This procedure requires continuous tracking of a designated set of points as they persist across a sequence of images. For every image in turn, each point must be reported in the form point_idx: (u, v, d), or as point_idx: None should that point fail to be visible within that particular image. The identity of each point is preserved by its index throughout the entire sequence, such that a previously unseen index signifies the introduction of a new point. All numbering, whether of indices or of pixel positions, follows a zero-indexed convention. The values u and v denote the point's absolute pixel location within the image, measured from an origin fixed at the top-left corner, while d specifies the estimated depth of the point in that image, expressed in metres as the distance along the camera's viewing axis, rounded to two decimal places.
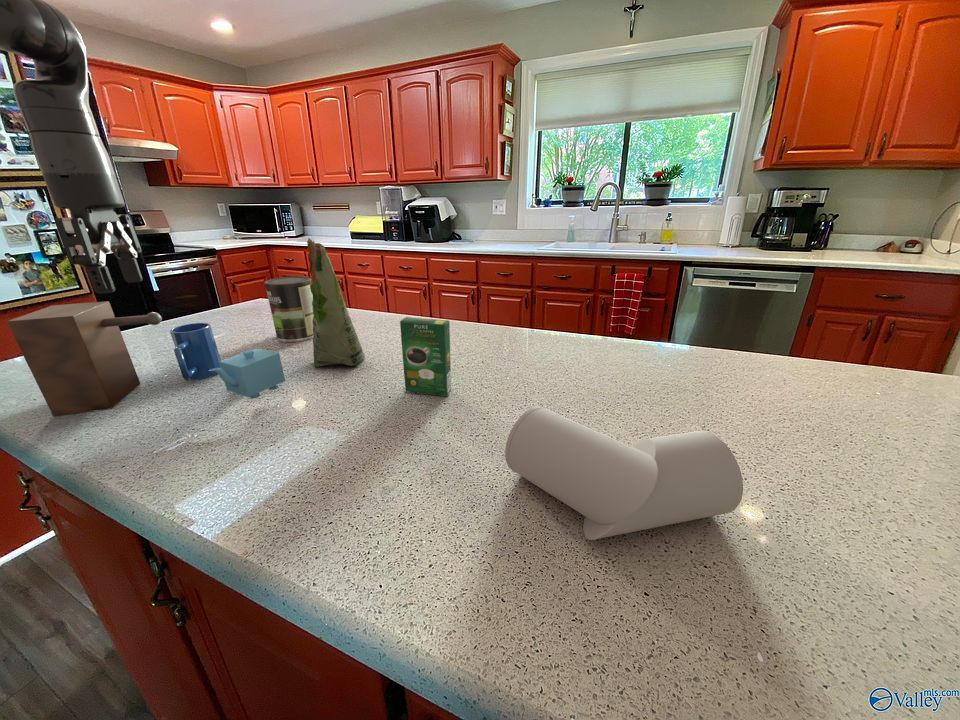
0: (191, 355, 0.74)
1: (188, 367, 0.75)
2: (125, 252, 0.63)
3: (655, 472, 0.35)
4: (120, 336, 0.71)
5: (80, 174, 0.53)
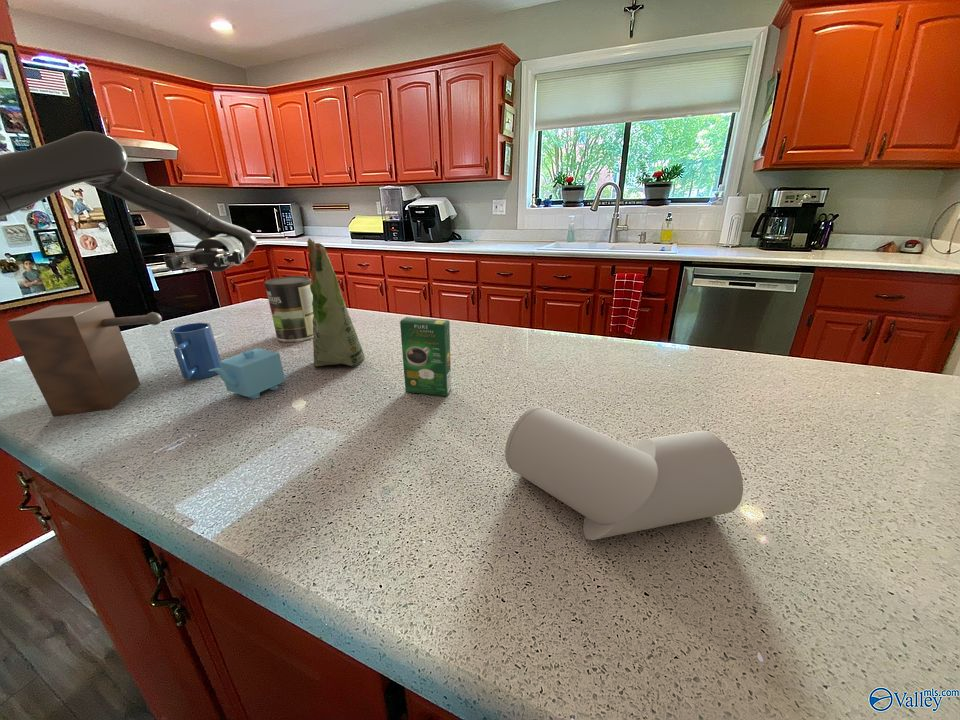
0: (191, 355, 0.74)
1: (188, 367, 0.75)
2: (180, 261, 0.84)
3: (655, 472, 0.35)
4: (120, 336, 0.71)
5: None
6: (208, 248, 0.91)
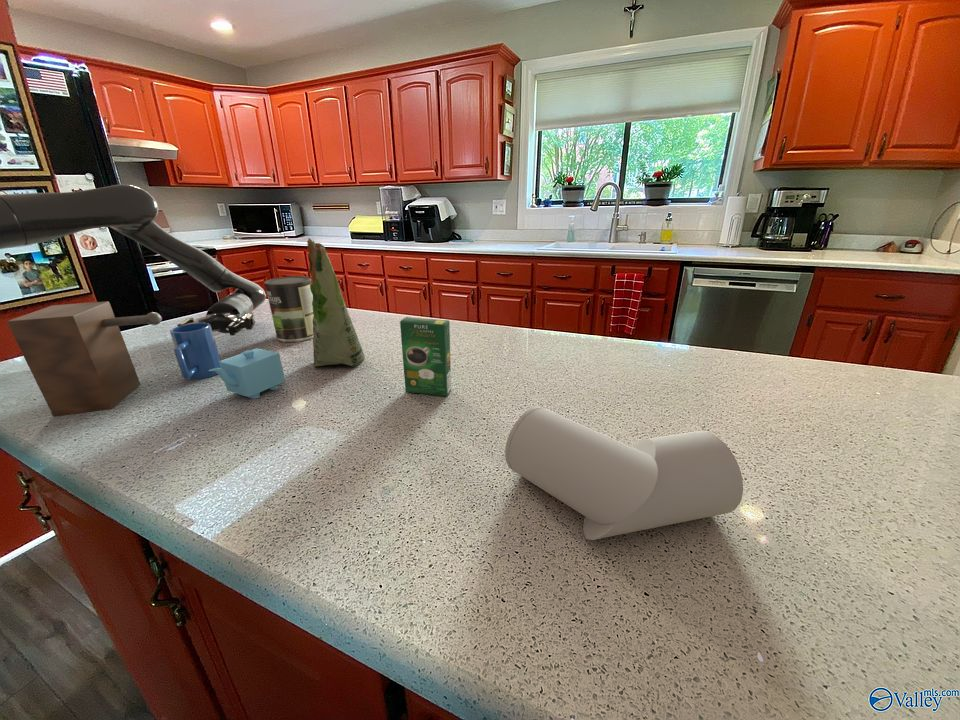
0: (191, 355, 0.74)
1: (188, 367, 0.75)
2: None
3: (655, 472, 0.35)
4: (120, 336, 0.71)
5: None
6: (220, 312, 0.93)
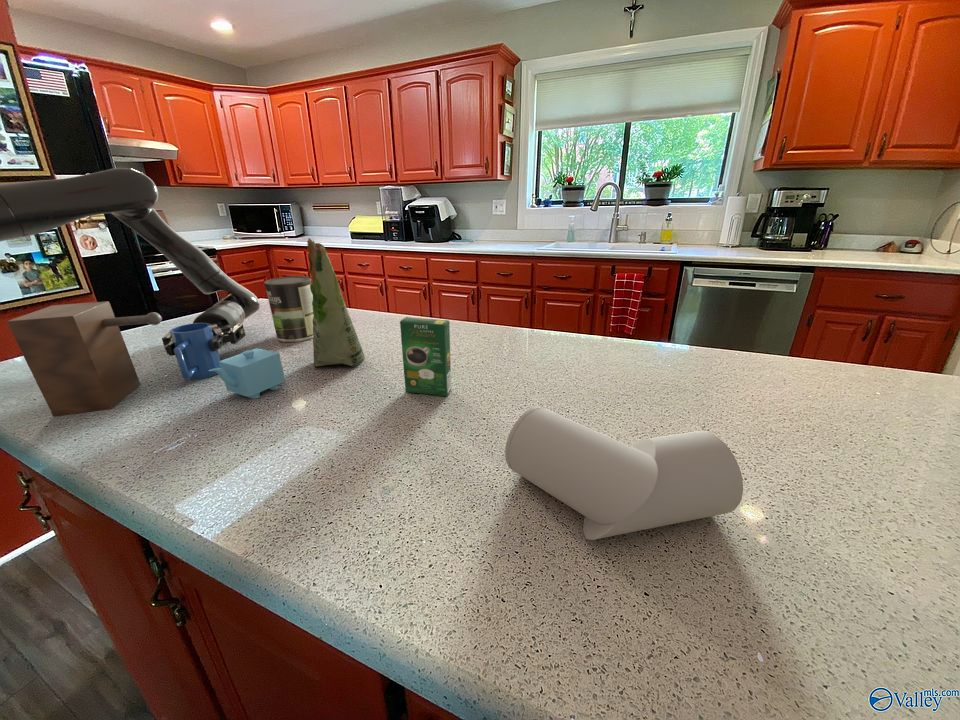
0: (191, 355, 0.74)
1: (188, 367, 0.75)
2: None
3: (655, 472, 0.35)
4: (120, 336, 0.71)
5: None
6: None
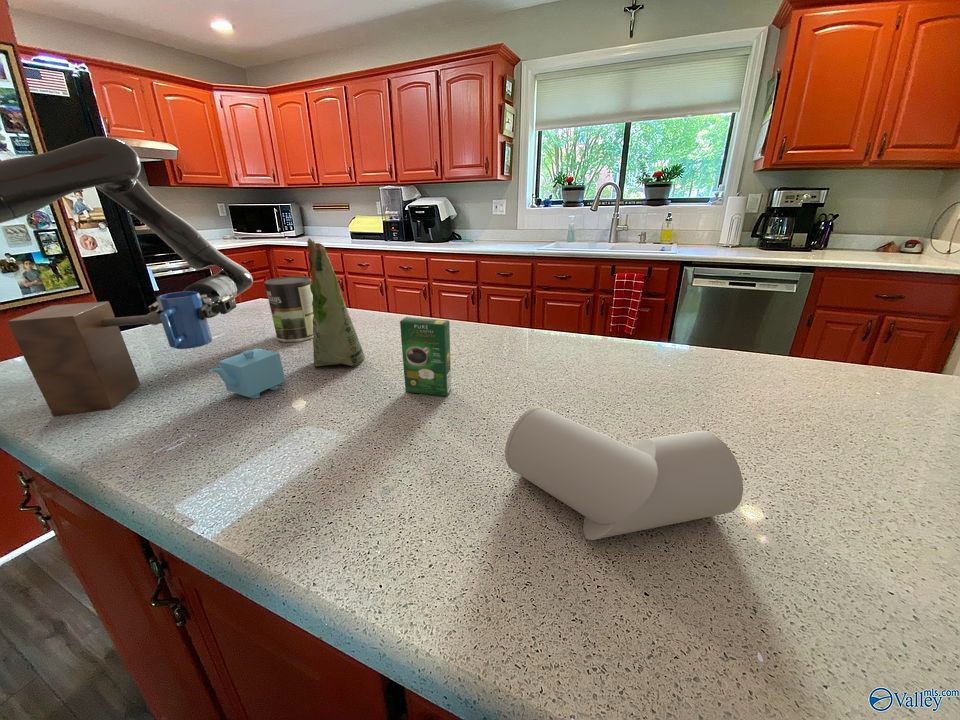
0: (178, 323, 0.72)
1: (175, 336, 0.73)
2: None
3: (655, 472, 0.35)
4: (120, 336, 0.71)
5: None
6: None
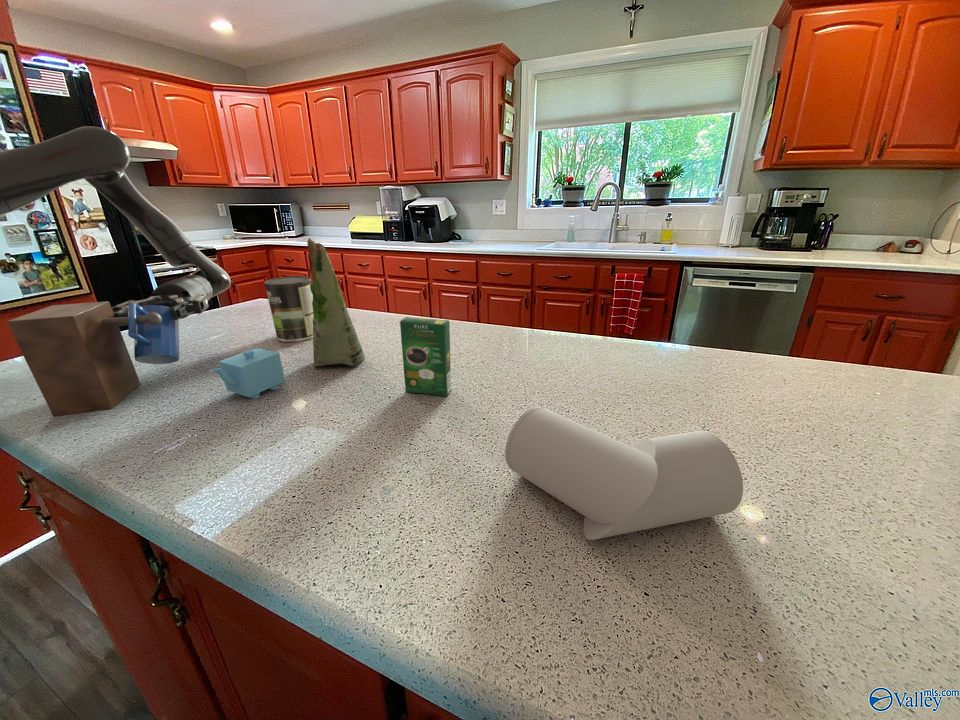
0: (147, 328, 0.71)
1: (140, 342, 0.71)
2: None
3: (655, 472, 0.35)
4: (120, 336, 0.71)
5: None
6: (167, 294, 0.81)
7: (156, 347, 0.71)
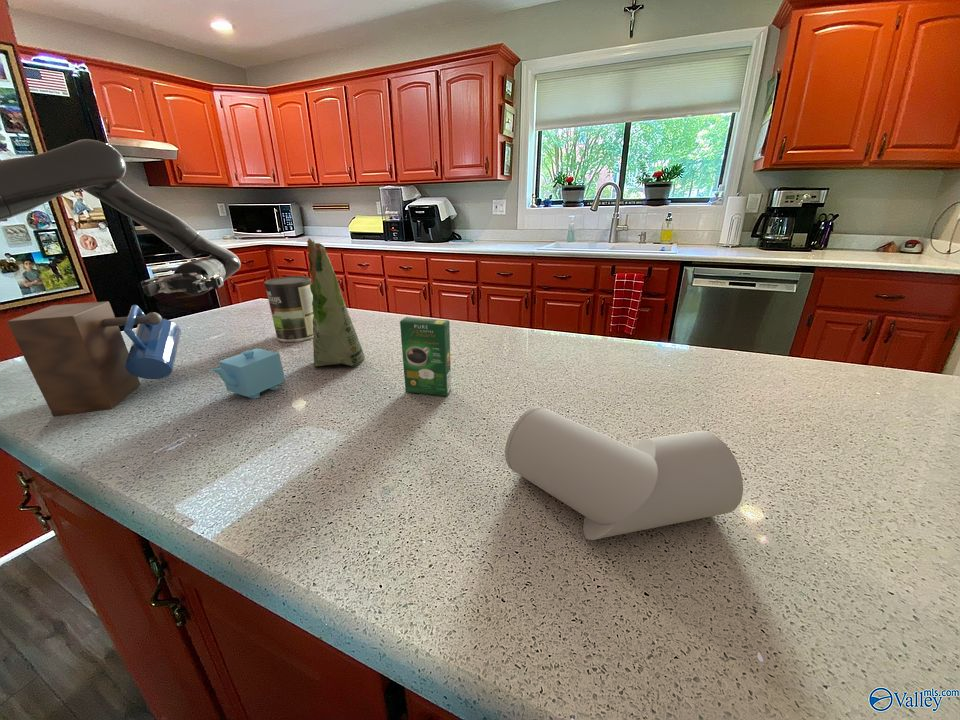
0: (145, 336, 0.70)
1: (135, 348, 0.69)
2: (157, 287, 0.85)
3: (655, 472, 0.35)
4: (120, 336, 0.71)
5: None
6: (187, 272, 0.91)
7: (150, 352, 0.69)
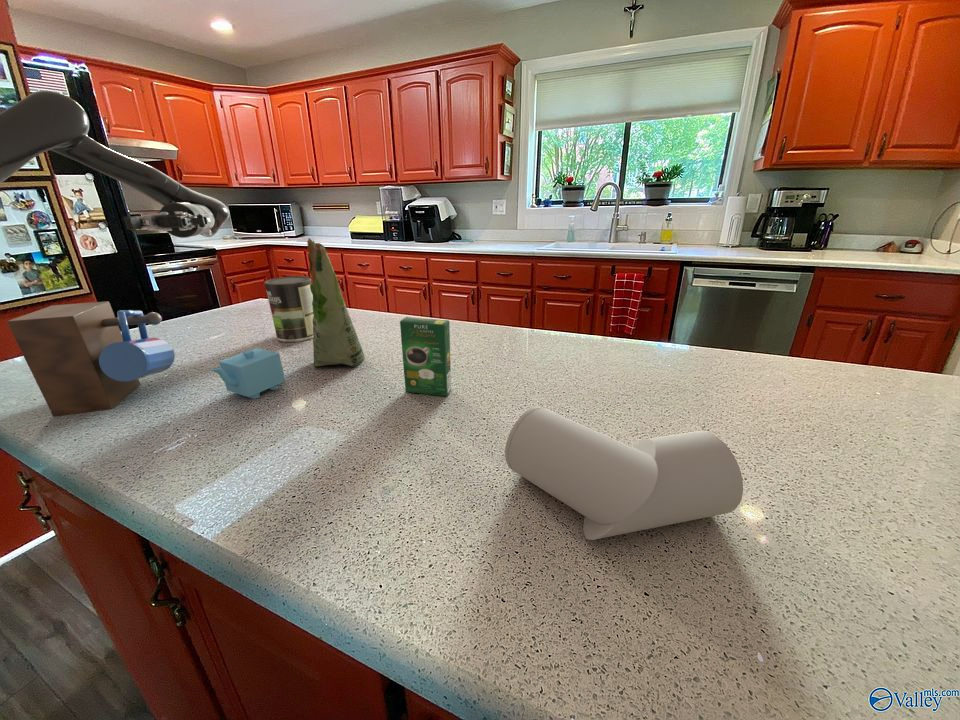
0: None
1: None
2: (141, 223, 0.82)
3: (655, 472, 0.35)
4: (120, 336, 0.71)
5: None
6: (173, 212, 0.88)
7: (133, 341, 0.64)
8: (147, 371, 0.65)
